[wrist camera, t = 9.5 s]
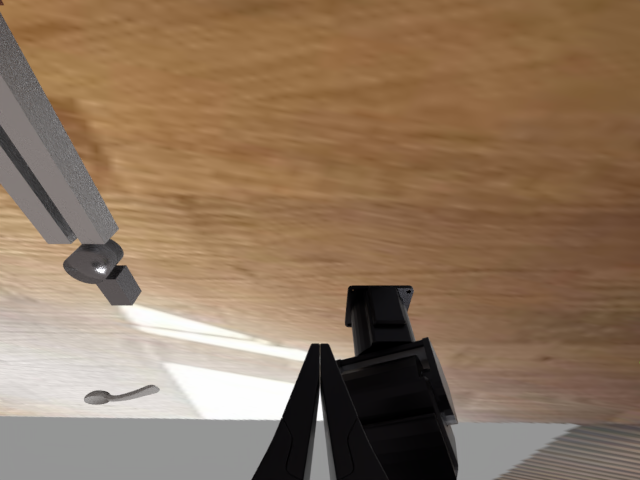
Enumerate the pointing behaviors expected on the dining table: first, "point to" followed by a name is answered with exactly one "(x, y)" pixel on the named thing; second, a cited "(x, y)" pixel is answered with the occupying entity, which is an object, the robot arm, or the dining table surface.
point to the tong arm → (55, 164)
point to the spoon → (104, 397)
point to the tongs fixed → (54, 219)
